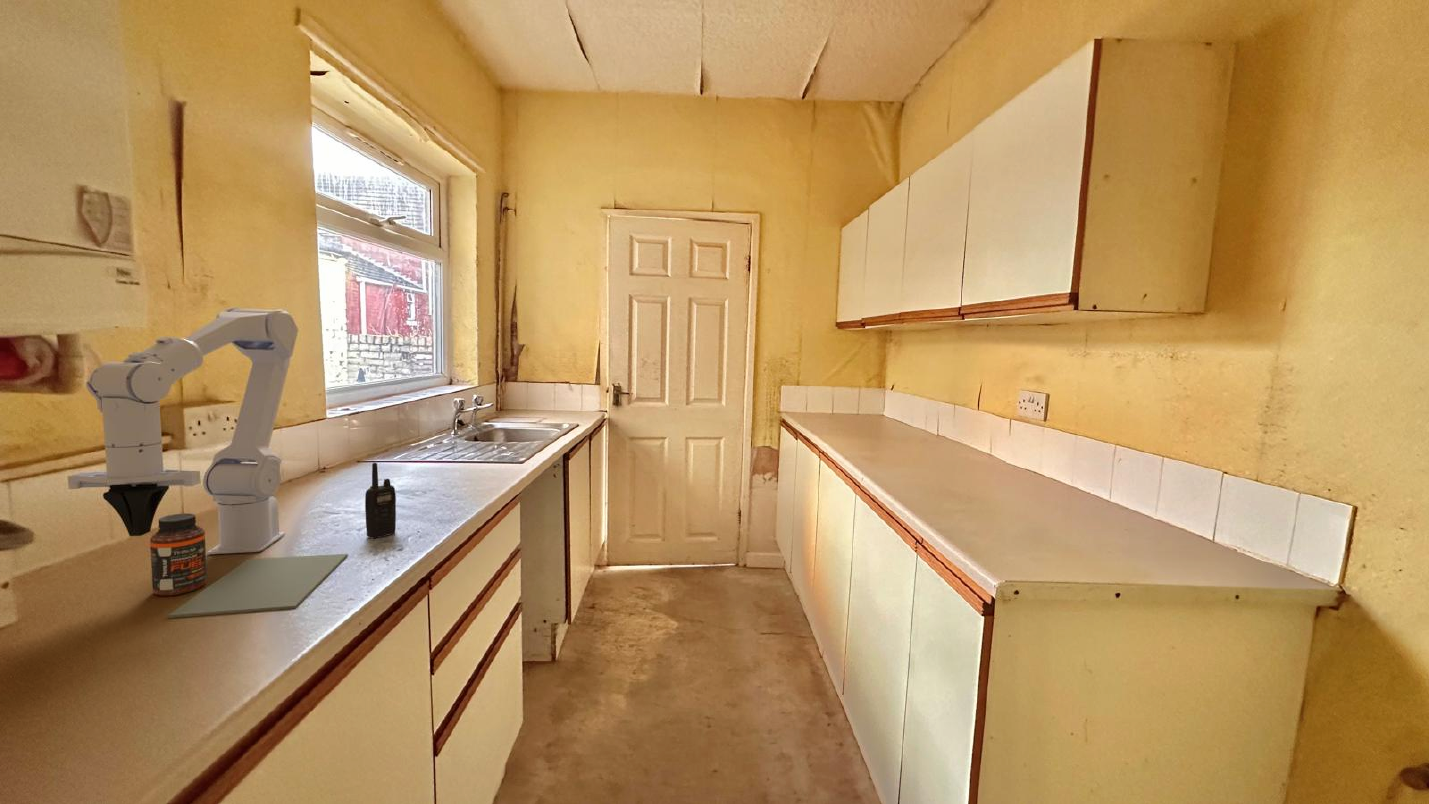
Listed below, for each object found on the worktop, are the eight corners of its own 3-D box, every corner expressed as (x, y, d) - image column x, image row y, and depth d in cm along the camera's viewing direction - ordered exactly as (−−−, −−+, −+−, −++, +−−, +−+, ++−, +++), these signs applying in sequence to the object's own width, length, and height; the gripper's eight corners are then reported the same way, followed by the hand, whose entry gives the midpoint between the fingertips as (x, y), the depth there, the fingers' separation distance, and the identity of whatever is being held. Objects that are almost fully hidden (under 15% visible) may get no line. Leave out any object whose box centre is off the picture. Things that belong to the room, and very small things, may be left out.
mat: (248, 561, 94) (248, 559, 94) (347, 555, 98) (347, 553, 98) (167, 618, 75) (167, 615, 75) (295, 608, 79) (295, 605, 79)
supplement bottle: (173, 600, 80) (168, 525, 78) (141, 594, 81) (136, 520, 80) (217, 583, 85) (213, 513, 84) (187, 578, 87) (183, 509, 85)
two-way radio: (370, 540, 105) (369, 465, 104) (359, 536, 108) (357, 461, 106) (399, 533, 110) (398, 460, 109) (388, 528, 112) (386, 457, 111)
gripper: (45, 449, 74) (53, 546, 75) (176, 448, 78) (181, 540, 79) (88, 440, 81) (95, 529, 82) (207, 440, 85) (211, 524, 86)
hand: (140, 533), depth 81 cm, fingers closed
